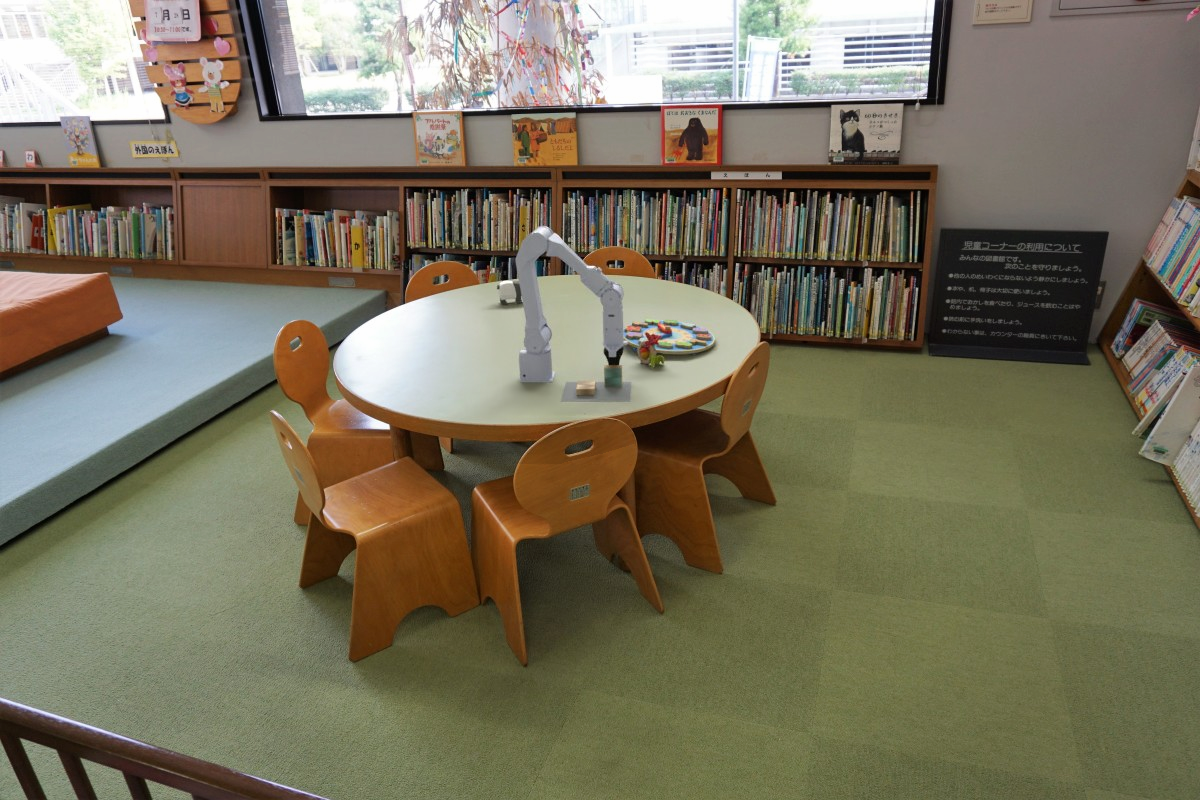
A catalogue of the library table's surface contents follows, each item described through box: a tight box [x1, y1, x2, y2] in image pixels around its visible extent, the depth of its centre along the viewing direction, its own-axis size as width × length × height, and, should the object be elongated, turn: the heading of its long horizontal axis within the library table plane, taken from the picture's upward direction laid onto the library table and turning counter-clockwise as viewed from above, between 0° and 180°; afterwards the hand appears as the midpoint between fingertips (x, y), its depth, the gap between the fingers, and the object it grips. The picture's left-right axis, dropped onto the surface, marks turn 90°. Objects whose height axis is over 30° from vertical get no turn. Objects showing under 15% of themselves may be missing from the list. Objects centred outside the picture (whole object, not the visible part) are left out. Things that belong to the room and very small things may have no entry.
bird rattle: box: [636, 332, 665, 369], centre depth 244 cm, size 6×11×9 cm
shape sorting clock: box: [623, 318, 716, 355], centre depth 264 cm, size 31×30×6 cm
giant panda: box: [496, 280, 523, 306], centre depth 310 cm, size 15×6×10 cm, turn 103°
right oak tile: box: [603, 364, 623, 387], centre depth 230 cm, size 5×2×6 cm, turn 86°
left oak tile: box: [576, 380, 597, 395], centre depth 227 cm, size 5×2×6 cm
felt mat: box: [560, 381, 632, 403], centre depth 228 cm, size 19×14×1 cm
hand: (614, 371), depth 234 cm, fingers closed
